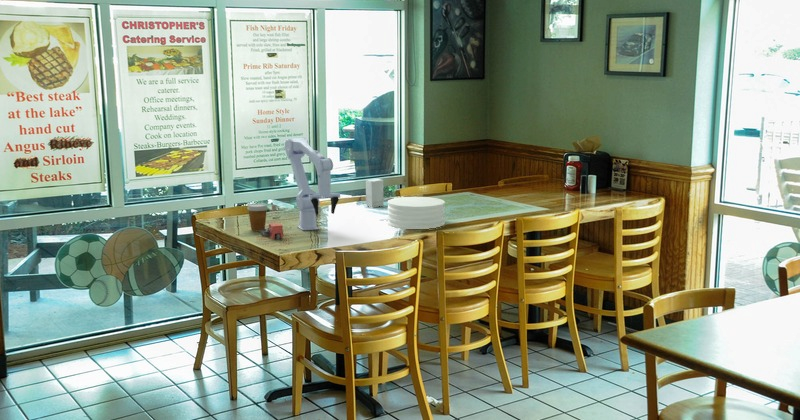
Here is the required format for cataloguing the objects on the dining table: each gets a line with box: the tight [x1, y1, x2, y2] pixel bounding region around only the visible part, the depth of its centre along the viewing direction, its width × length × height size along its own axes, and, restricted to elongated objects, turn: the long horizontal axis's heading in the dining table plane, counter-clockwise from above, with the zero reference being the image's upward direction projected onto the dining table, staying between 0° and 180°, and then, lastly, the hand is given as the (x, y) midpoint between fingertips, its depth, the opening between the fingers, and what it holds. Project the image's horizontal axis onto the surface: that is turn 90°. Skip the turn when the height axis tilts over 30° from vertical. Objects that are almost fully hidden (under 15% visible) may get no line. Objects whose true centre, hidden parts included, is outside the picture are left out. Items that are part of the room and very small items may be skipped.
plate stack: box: [387, 196, 446, 230], centre depth 412 cm, size 28×28×12 cm
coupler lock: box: [268, 222, 284, 240], centre depth 382 cm, size 7×5×6 cm, turn 22°
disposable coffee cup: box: [246, 202, 268, 232], centre depth 397 cm, size 10×10×12 cm
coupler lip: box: [260, 227, 281, 240], centre depth 385 cm, size 15×9×3 cm, turn 22°
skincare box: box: [365, 178, 385, 208], centre depth 458 cm, size 8×6×15 cm
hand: (324, 213), depth 388 cm, fingers open, 7 cm apart
